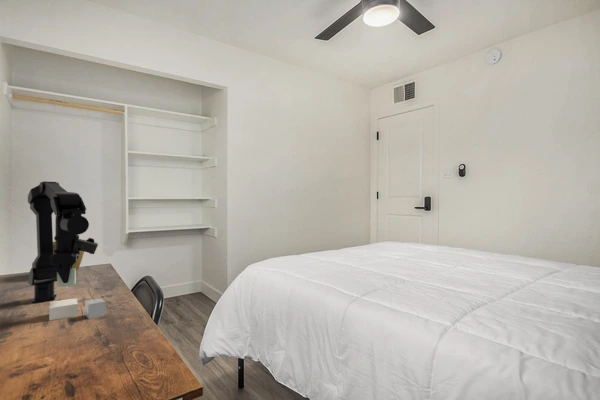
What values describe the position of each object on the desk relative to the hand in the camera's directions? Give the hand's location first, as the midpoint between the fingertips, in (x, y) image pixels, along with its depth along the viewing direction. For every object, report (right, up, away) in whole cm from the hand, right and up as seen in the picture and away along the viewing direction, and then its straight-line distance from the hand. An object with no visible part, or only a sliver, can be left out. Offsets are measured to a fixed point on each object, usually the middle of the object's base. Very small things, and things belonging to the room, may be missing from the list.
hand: (66, 281), depth 103 cm
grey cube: (+10, -11, -1) cm, 14 cm away
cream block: (0, -11, -1) cm, 11 cm away
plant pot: (-37, -10, +52) cm, 65 cm away
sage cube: (0, -1, 0) cm, 1 cm away
